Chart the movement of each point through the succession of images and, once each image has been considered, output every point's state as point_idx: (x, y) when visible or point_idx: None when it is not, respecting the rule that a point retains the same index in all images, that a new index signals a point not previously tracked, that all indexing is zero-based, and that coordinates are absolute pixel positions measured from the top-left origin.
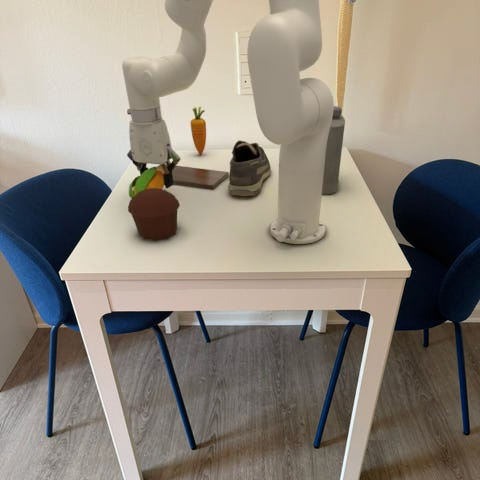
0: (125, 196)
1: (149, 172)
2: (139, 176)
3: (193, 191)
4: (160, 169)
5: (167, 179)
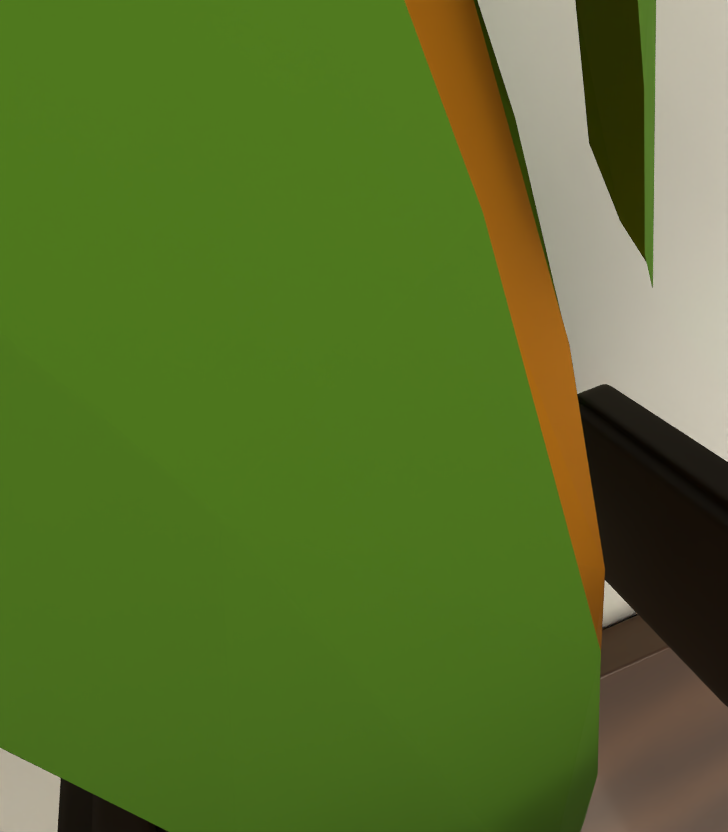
0: (723, 99)
1: (2, 505)
2: (649, 232)
3: (19, 784)
4: (702, 772)
5: None
